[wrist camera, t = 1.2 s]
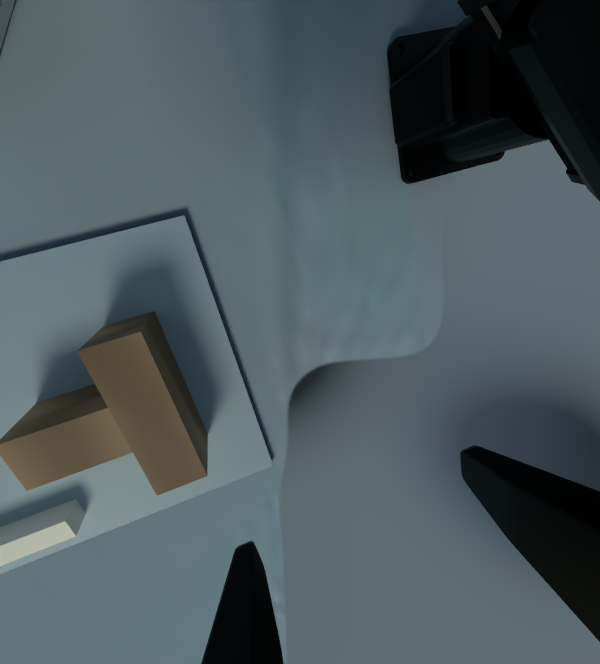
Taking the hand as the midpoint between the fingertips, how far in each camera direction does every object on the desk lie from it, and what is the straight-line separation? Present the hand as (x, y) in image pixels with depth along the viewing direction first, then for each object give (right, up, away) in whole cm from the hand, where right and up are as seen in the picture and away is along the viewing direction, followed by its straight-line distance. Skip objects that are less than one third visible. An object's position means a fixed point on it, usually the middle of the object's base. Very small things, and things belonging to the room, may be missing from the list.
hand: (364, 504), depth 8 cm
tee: (-10, +1, +9) cm, 14 cm away
